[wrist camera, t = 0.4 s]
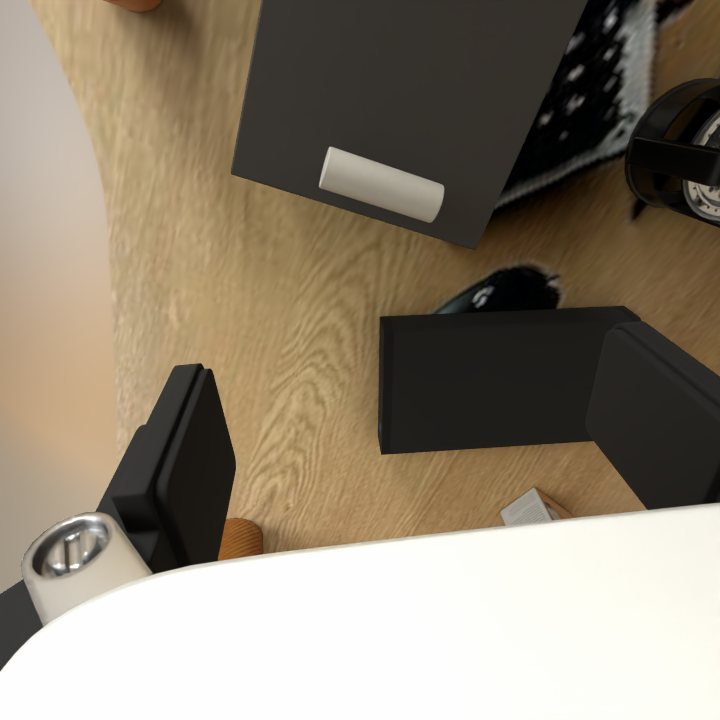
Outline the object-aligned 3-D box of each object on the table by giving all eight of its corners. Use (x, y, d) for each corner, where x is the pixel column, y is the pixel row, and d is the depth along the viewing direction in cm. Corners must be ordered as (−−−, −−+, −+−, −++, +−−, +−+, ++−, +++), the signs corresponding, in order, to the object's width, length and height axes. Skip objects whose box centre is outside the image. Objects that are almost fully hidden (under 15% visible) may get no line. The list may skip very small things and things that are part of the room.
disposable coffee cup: (191, 507, 53) (162, 610, 43) (277, 508, 55) (269, 608, 44) (197, 562, 58) (172, 665, 48) (275, 561, 59) (268, 662, 49)
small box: (571, 512, 59) (617, 590, 50) (536, 537, 61) (574, 616, 52) (534, 484, 56) (576, 562, 47) (497, 511, 58) (531, 590, 49)
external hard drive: (586, 423, 52) (600, 441, 49) (377, 436, 50) (380, 456, 48) (622, 304, 45) (641, 318, 42) (379, 315, 43) (383, 330, 40)
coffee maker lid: (471, 246, 28) (500, 277, 24) (232, 171, 25) (215, 191, 20) (624, -96, 21) (705, -142, 16) (311, -266, 17) (311, -379, 13)
